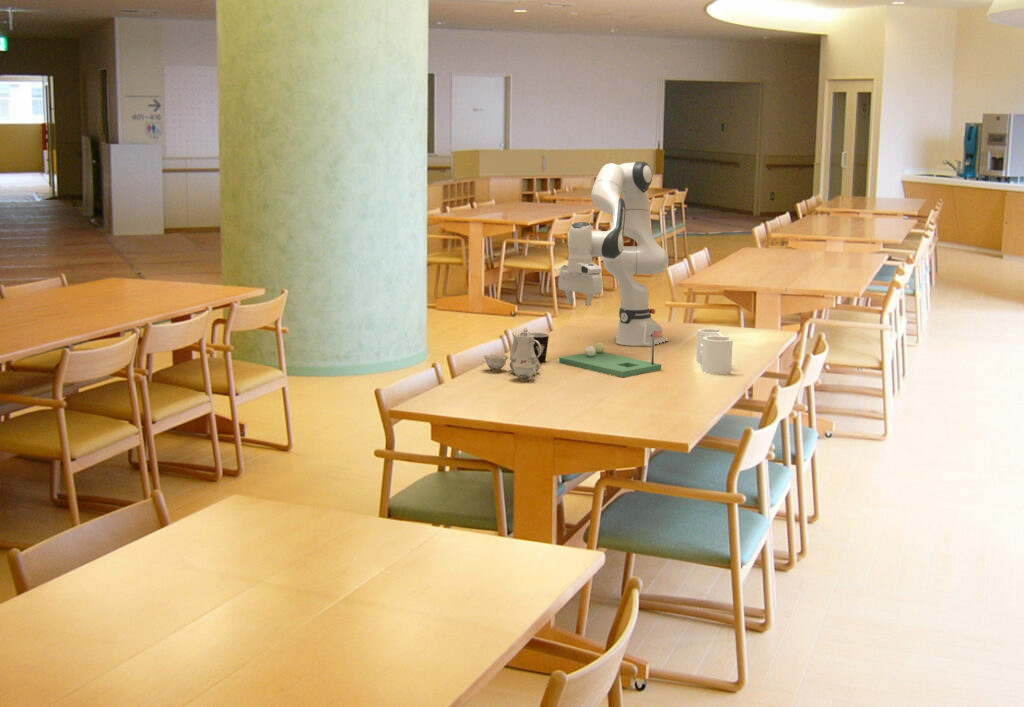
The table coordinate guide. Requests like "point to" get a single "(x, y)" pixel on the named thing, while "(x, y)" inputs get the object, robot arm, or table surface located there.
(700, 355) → the cylindrical containers
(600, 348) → the ball
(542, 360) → the coffee mug
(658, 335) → the pin
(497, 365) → the chinaware
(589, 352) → the ball
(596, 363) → the green
